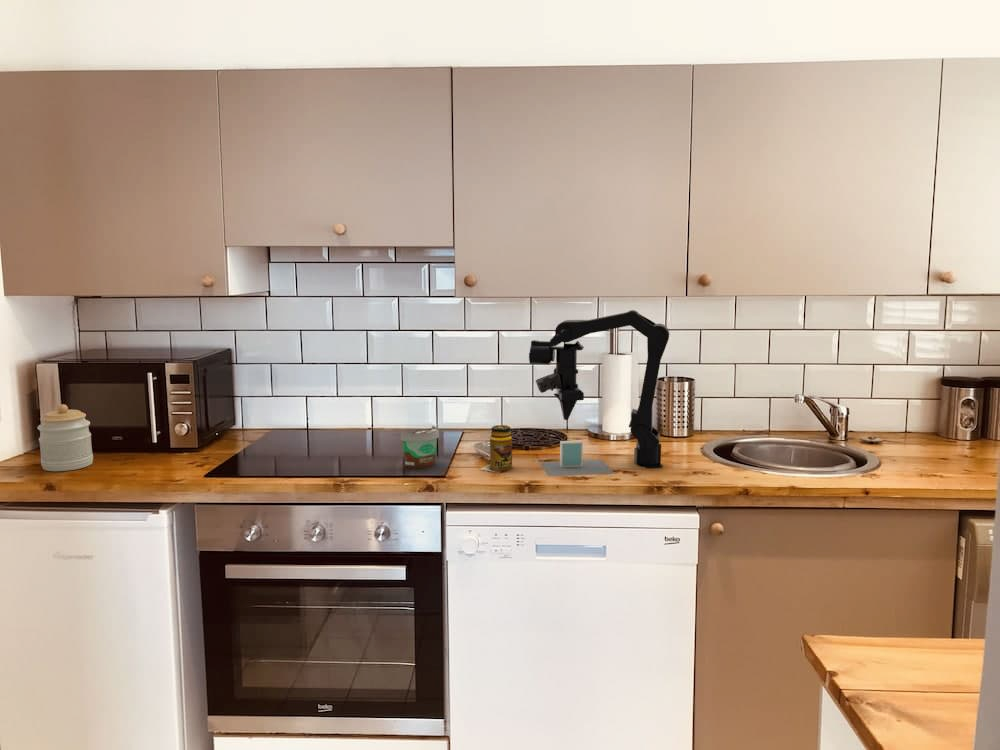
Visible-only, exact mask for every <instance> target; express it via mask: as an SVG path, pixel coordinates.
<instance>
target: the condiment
mask: <svg viewBox="0 0 1000 750" xmlns="http://www.w3.org/2000/svg"><path fill="white" fill-rule="evenodd" d="M511 431H512V429H511V426H508V425H504V424H501V425H500V424H499V425H494V426H492V427H491V432H490V434H491V435H490V438H489V453H490V454H489V464H487V465H485V466H483V467H482V468H479V470H482V471H486V472H492V473H498V474H502V472H501V471H508V470H510V469H512V467H513V437H512V436H511V435H512V432H511Z"/></svg>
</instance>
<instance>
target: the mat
mask: <svg viewBox="0 0 1000 750" xmlns="http://www.w3.org/2000/svg"><path fill="white" fill-rule="evenodd" d="M539 464H540V465H541V467H542V468H543V470H544V472H545V473H546V475H547V476H548V477H561V476H562V477H563V476H583V475H585V476H586V475H587V476H588V475H609V474H611V475H612V474H615V472H614V471H613V470H612V469H611V467H609V465H607V464H606V463H605V462H604V460H602V459H596V460H595V459H594V460H591V459H590V460H582V466H581V467H561V466H560V461H540V462H539Z"/></svg>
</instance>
